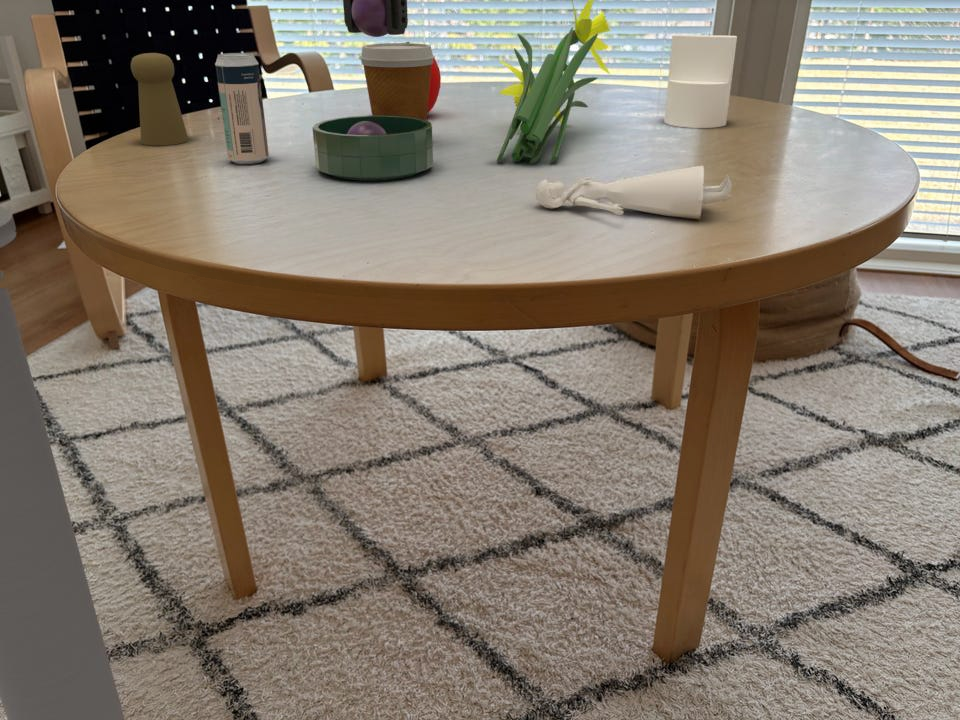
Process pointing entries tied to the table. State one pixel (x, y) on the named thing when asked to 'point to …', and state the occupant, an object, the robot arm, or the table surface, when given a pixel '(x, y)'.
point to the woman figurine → (641, 193)
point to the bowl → (373, 148)
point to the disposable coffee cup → (398, 78)
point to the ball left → (366, 129)
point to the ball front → (370, 17)
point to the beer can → (242, 107)
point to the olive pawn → (158, 100)
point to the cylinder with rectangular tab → (699, 80)
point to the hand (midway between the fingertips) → (376, 32)
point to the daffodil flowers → (551, 87)
